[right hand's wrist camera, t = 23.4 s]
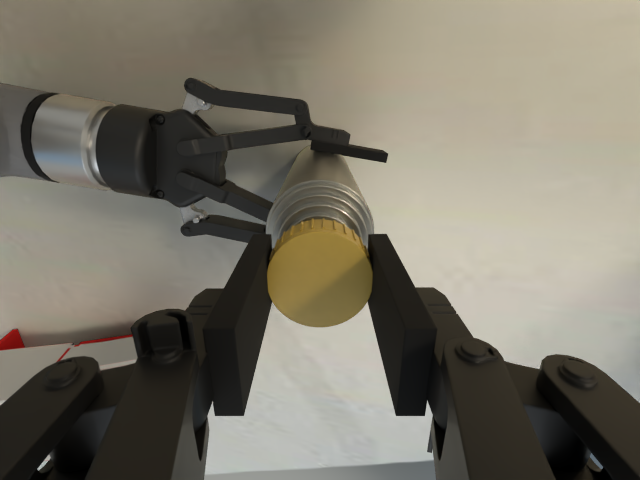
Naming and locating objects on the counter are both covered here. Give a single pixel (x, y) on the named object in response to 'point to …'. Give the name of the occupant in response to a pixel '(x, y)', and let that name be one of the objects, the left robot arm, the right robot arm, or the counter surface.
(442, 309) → the right robot arm
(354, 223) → the bottle
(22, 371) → the toy
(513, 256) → the counter surface
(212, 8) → the counter surface
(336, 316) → the cap
